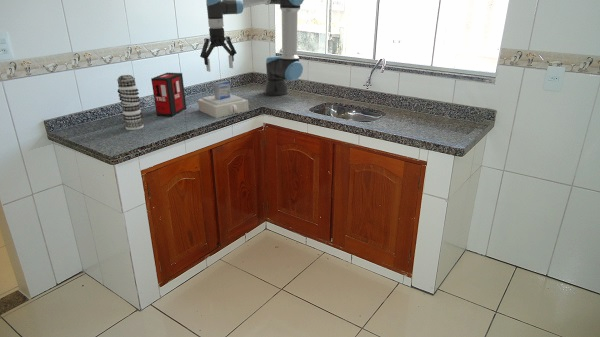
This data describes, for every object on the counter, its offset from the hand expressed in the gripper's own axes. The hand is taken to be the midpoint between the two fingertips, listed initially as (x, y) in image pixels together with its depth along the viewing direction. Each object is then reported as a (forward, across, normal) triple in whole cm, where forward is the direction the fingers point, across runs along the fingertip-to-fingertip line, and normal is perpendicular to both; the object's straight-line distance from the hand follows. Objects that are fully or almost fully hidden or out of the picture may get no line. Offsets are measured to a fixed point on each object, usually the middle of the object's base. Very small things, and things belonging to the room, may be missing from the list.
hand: (220, 69), depth 214 cm
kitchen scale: (+22, 0, 0) cm, 23 cm away
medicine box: (+16, 0, 0) cm, 16 cm away
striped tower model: (+22, -48, +3) cm, 53 cm away
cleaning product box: (+23, -23, +16) cm, 36 cm away
